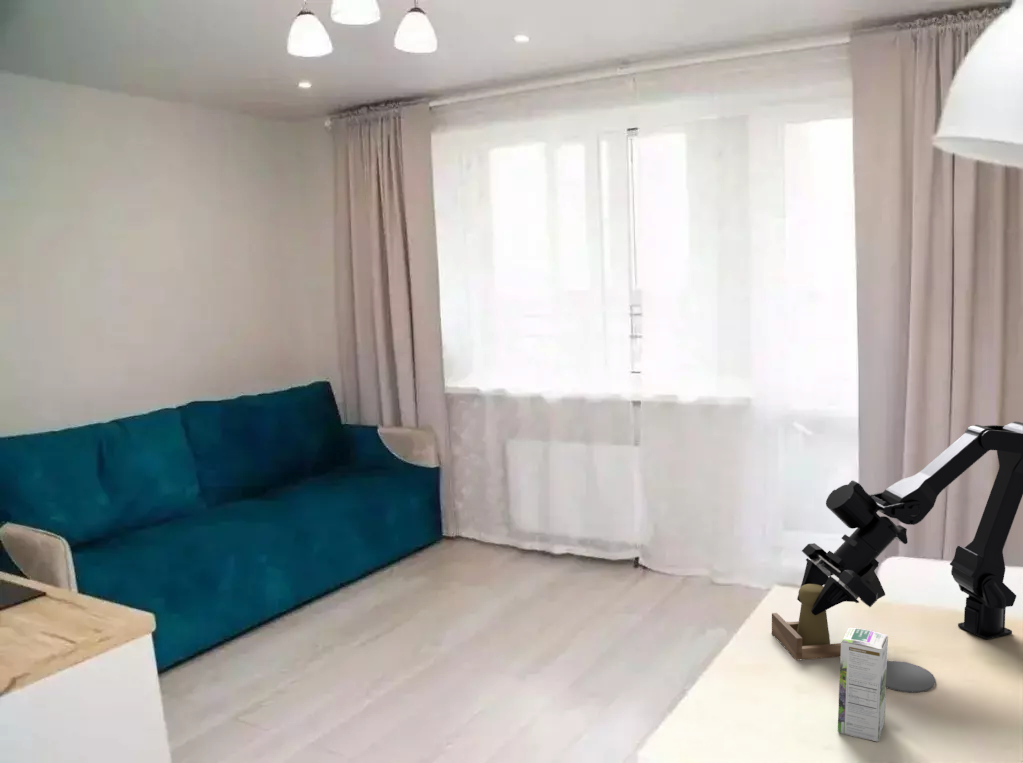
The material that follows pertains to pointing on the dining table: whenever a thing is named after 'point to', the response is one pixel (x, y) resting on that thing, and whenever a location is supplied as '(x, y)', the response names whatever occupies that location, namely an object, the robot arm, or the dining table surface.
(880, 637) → the syrup box
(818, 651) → the holder
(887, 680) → the coaster
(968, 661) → the dining table surface
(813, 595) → the cork
